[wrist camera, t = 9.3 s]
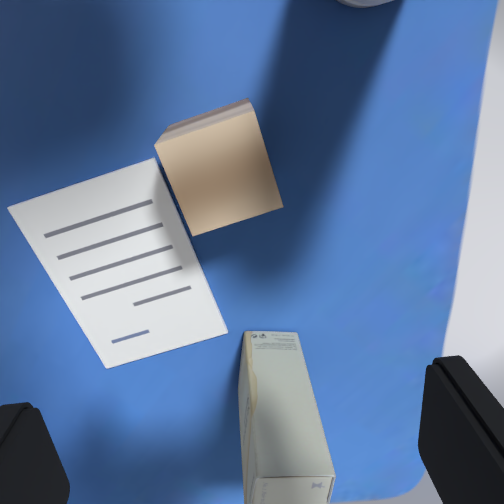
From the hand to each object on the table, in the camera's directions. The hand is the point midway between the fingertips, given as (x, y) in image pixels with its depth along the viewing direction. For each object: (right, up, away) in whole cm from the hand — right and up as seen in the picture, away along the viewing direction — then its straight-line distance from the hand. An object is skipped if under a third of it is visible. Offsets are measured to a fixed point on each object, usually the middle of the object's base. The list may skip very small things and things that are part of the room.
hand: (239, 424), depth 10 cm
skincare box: (+2, -5, +23) cm, 24 cm away
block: (-2, +10, +16) cm, 19 cm away
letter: (-8, +3, +19) cm, 21 cm away
